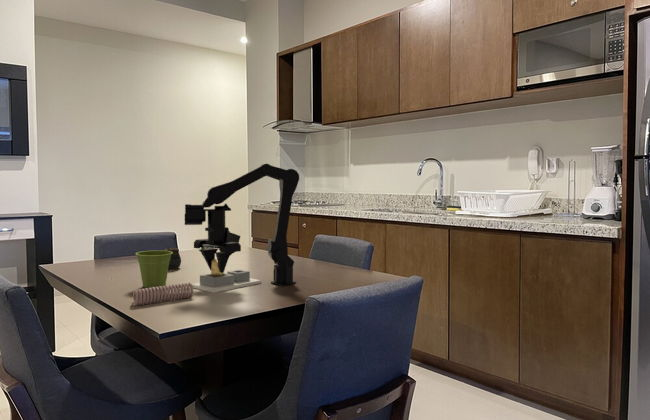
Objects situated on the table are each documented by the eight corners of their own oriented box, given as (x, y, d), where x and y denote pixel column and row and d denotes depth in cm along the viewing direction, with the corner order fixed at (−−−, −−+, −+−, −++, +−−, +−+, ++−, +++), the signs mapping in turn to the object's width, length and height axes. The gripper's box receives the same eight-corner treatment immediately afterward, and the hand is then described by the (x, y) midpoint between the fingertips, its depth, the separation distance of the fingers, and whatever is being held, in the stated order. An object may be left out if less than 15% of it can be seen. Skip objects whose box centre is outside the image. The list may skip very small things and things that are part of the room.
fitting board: (261, 283, 169) (260, 271, 169) (212, 292, 154) (212, 280, 154) (239, 278, 177) (239, 267, 177) (191, 287, 162) (191, 275, 162)
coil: (189, 281, 151) (129, 289, 139) (195, 282, 147) (134, 290, 136) (190, 296, 151) (130, 305, 139) (196, 298, 147) (135, 307, 136)
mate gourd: (183, 267, 202) (183, 242, 201) (178, 270, 194) (178, 245, 194) (165, 267, 201) (165, 242, 201) (160, 270, 194) (159, 245, 193)
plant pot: (134, 290, 157) (133, 255, 156) (137, 283, 168) (137, 250, 168) (172, 288, 160) (172, 254, 159) (173, 281, 171) (173, 249, 171)
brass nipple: (225, 284, 163) (226, 260, 162) (215, 285, 160) (216, 261, 159) (218, 282, 165) (219, 258, 165) (208, 283, 162) (209, 259, 162)
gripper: (253, 224, 161) (254, 271, 162) (219, 221, 174) (220, 265, 174) (226, 226, 153) (226, 276, 154) (192, 223, 165) (193, 269, 166)
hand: (217, 271), depth 162 cm, fingers open, 5 cm apart
